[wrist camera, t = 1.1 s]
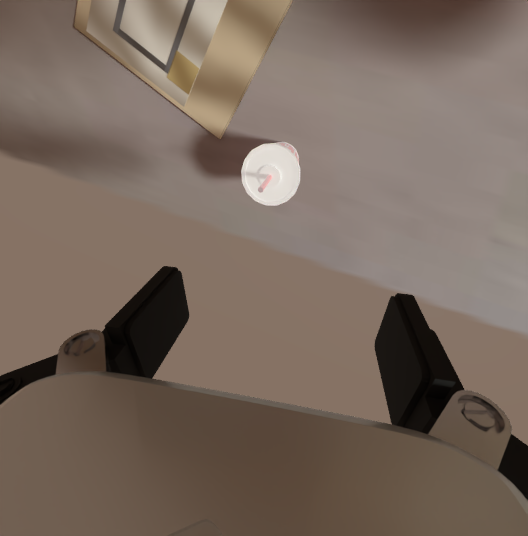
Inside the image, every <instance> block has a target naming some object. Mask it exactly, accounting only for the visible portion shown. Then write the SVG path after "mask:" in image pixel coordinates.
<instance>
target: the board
mask: <svg viewBox="0 0 528 536" xmlns="http://www.w3.org/2000/svg"><path fill="white" fill-rule="evenodd" d="M292 1H293V0H78V3H77V9H76V16H75V23H74V27H75V28H76V29H78V30H79V31H80V32H81V33H83V34H84V35H85V36H87V37H88V38H89V39H91V40H92V41H93V42H94V43H96V44H97V45H98V46H100V47H101V48H102V49H103V50H105V51H106V52H107V53H109V54H110V55H111V56H113V57H114V58H115V59H116V60H118V61H119V62H120V63H122V64H123V65H124V66H125V67H127V68H128V69H129V70H131V71H132V72H133V73H135V74H136V75H137V76H138V77H140V78H141V79H142V80H144V81H145V82H146V83H147V84H149V85H150V86H151V87H153V88H154V89H155V90H157V91H158V92H159V93H160V94H162V95H163V96H164V97H166V98H167V99H168V100H169V101H171V102H172V103H173V104H175V105H176V106H177V107H179V108H180V109H181V110H182V111H184V112H185V113H186V114H188V115H189V116H190V117H191V118H193V119H194V120H195V121H197V122H198V123H199V124H201V125H202V126H203V127H204V128H206V129H207V130H208V131H210V132H211V133H212V134H213V135H215V136H216V137H217V138H219V139H221V138H222V136H223V134H224V132H225V130H226V129H227V127H228V125H229V123H230V121H231V119H232V117H233V115H234V113H235V111H236V109H237V107H238V105H239V103H240V102H241V100H242V98H243V96H244V94H245V92H246V90H247V88H248V86H249V84H250V82H251V80H252V78H253V77H254V75H255V73H256V71H257V69H258V67H259V65H260V63H261V61H262V59H263V57H264V55H265V53H266V52H267V50H268V48H269V46H270V44H271V42H272V40H273V38H274V36H275V34H276V32H277V30H278V28H279V27H280V25H281V23H282V21H283V19H284V17H285V15H286V13H287V11H288V9H289V7H290V5H291V3H292Z"/></svg>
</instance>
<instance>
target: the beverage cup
mask: <svg viewBox="0 0 528 536" xmlns="http://www.w3.org/2000/svg"><path fill="white" fill-rule="evenodd" d="M241 175H242V183H243V185H244V187H245V189H246V191H247V193H248V194H249V195H250V196H251V197H252V198H253V199H254V200H255V201H256V202H259V203H261V204H264V205H279V204H282V203H284V202H286V201H288V200H289V199H290V198H291V197H292V196H293V195H294V194H295V192H296V190H297V188H298V185H299V183H300V166H299V156H298V153H297V151H296V149H295V148H294V147H293V146H292V145H291V144H288V143H286V142H277V143H269V144H262V145H260V146H258V147H257V148H255V149H253V150H251V152H250V153H249V154H248V156H247V157H246V158H245V159H244V163H243V166H242V170H241Z"/></svg>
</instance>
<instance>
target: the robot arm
mask: <svg viewBox="0 0 528 536" xmlns="http://www.w3.org/2000/svg"><path fill="white" fill-rule="evenodd" d="M188 319H189V311H188V305H187V300H186V295H185V289H184V284H183V279H182V273H181V272H180V271H178V269H177V268H176V267H168V266H164V267H162V268H161V269H160V270H159V271H158V272H157V273H156V274H155V275H154V276H153V277H152V278H151V279H150V280H149V281H148V283H147V284H146V285H144V287H143V288H142V289H141V290H140V291H139V292H138V293H137V294H136V295H135V296H134V297H133V298H132V299H131V300H130V301H129V302H128V303H127V304H126V305H125V306H124V307H123V308H122V309H121V310H120V311H119V312H118V313H117V314H116V315H115V316H114V317H113V318H112V319H111V320H110V321H109V322H108V323H107V324H106V325H105V329H104V330H103V331H102V332H101V331H99V330H85V331H81V332H79V333H77V334H74V335H73V336H71V337H70V338H68V339H67V340H66V341H64V343H63V344H62V345H61V346H60V349H59V352H58V354H57V355H54V356H52V357H49V358H46V359H44V360H41V361H38V362H36V363H33V364H30V365H28V366H25V367H22V368H20V369H17V370H14V371H12V372H9V373H6V374H4V375H1V376H0V536H528V446H527V445H526V444H524V443H523V442H522V441H520V440H519V439H518V438H516V437H515V436H513V435H512V434H511V431H512V427H511V424H510V421H509V419H508V417H507V416H506V415H505V413H504V412H503V411H502V410H501V409H500V408H499V407H498V406H497V405H496V404H495V403H494V402H492V401H491V400H490V399H488V398H486V397H485V396H483V395H481V394H479V393H476V392H473V391H468V390H464V388H463V386H462V384H461V382H460V380H459V378H458V376H457V374H456V372H455V370H454V368H453V366H452V364H451V362H450V360H449V359H448V357H447V354H446V353H445V350H444V349H443V346H442V345H441V343H440V341H439V339H438V337H437V335H436V333H435V332H434V331H433V330H431V329H430V328H429V326H428V324H427V322H426V320H425V318H424V316H423V314H422V312H421V310H420V308H419V306H418V304H417V302H416V300H415V298H414V296H413V295H408V294H400V293H397V294H396V295H395V297H394V296H391V298H390V300H389V303H388V306H387V309H386V312H385V314H384V317H383V320H382V323H381V326H380V329H379V332H378V334H377V337H376V340H375V351H376V356H377V360H378V365H379V370H380V373H381V379H382V383H383V387H384V392H385V396H386V401H387V405H388V410H389V414H390V419H391V423H392V425H391V424H386V423H381V422H377V421H372V420H367V419H363V418H357V417H353V416H348V415H343V414H338V413H333V412H328V411H322V410H317V409H312V408H307V407H301V406H297V405H291V404H286V403H280V402H275V401H270V400H265V399H260V398H254V397H249V396H244V395H239V394H233V393H228V392H222V391H217V390H211V389H206V388H201V387H195V386H190V385H184V384H179V383H173V382H168V381H162V380H156V379H152V378H153V376H154V374H155V373H156V371H157V370H158V368H159V367H160V365H161V363H162V362H163V360H164V358H165V357H166V355H167V354H168V352H169V350H170V349H171V347H172V346H173V344H174V342H175V341H176V339H177V337H178V335H179V334H180V333H181V331H182V329H183V328H184V326H185V324H186V323H187V321H188Z"/></svg>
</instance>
